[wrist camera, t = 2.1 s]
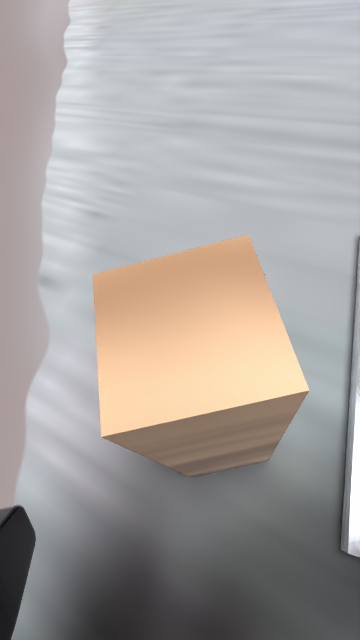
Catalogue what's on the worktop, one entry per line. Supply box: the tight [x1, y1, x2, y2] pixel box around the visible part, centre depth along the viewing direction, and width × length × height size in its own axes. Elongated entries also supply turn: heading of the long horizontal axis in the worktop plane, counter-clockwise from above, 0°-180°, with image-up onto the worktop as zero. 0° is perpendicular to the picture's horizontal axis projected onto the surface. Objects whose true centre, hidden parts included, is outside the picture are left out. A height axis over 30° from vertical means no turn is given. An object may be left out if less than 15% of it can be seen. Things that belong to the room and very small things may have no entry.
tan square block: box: [93, 235, 309, 477], centre depth 12 cm, size 4×4×12 cm
